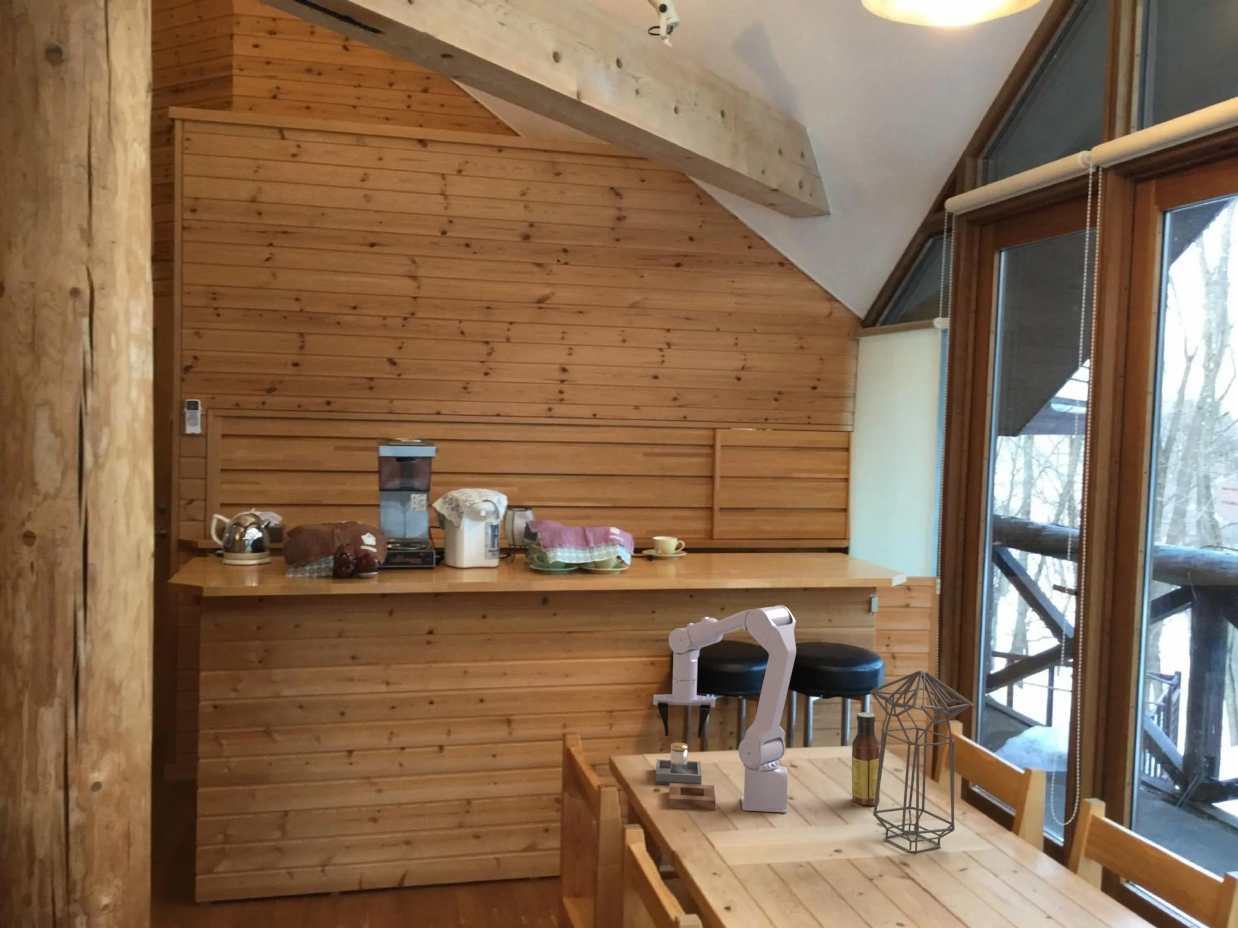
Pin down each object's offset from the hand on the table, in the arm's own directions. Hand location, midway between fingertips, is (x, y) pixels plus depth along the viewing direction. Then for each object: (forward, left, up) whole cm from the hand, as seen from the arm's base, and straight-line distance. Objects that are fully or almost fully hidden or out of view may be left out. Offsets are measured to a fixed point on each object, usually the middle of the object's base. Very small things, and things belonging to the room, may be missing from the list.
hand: (683, 735), depth 239 cm
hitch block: (-2, +14, -10) cm, 18 cm away
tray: (+1, -1, -10) cm, 10 cm away
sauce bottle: (-41, +9, -11) cm, 44 cm away
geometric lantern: (-47, +31, -11) cm, 58 cm away
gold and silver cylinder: (+1, -1, -10) cm, 10 cm away
